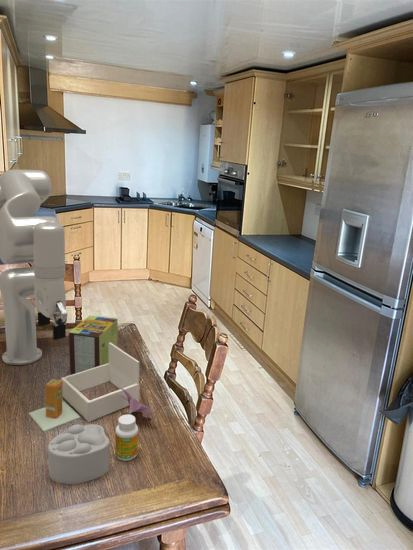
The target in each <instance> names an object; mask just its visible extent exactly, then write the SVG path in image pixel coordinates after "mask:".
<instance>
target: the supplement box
mask: <svg viewBox="0 0 413 550" xmlns="http://www.w3.org/2000/svg"><path fill="white" fill-rule="evenodd" d="M62 385H63V382H62V381H61V379H57V378H52V379H51V380H49V381H48V382H47V383H45V407H46V417H50V418H54V419H56V418H57V417H58V416H59V415H60V414H61V413H62V401H63V396H62Z"/></svg>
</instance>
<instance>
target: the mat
mask: <svg viewBox="0 0 413 550" xmlns="http://www.w3.org/2000/svg"><path fill="white" fill-rule="evenodd" d="M28 415H29V416H30V418H32V420H33V421H34V423H36V424H37V426H38V427H39V428H40V429H41V431H42V432H43V433H46V432H48V431H51V430H53V429H56V428H59V427H60V426H64V425H66V424H68V423H72V422H74V421H76V420H79V419H81V416H80V415H79V414H78V413H77V412H76V411H75V410H74V408H72V406H71V405H70V404H68V403H67V401H65V400H62V413H61V414H60V415H59V416H58V417H57V418H56V419H54V418H50V417H46V406H44V407H42V408H39V409H36V410H34V411H30V412H28Z"/></svg>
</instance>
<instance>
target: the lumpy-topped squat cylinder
mask: <svg viewBox="0 0 413 550" xmlns="http://www.w3.org/2000/svg"><path fill="white" fill-rule="evenodd" d="M110 446H111V445H110V439H109V437H108V436H107V435H106V433H105V428H104V427H103V426H102V425H100V424H96V423H95V424H92V423H91V424H86V425H82V424H79V423H78V424H73V425H71V426H70V427H68V429H66V430H64V431H62V432H61V433H59V434H57V435H56V436H55V437H54V438H52V439H51V440H50V442H49V443H48V446H47V456H48V457H47V459H48V460H47V461H48V476H49V477H50V479H51V480H52V481H54V482H56V483H59V484H63V485H65V484H67V485H77V484H83V483H85V482H89V481H92V480H95V479H98V478H101V477H103V476H104V475H106V474H107V473H108V472H109V470H110V467H111V464H110V462H111V460H110V459H111V457H110V456H111V455H110V453H111V447H110Z"/></svg>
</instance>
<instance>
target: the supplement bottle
mask: <svg viewBox="0 0 413 550" xmlns="http://www.w3.org/2000/svg"><path fill="white" fill-rule="evenodd" d="M136 422H137V421H136V417H135V416H134V415H133V414H130V415H129V413H128V414H122V415H121V416H119V418H118V422H117V423H118V424H117V425H116V427H115V437H114V438H115V446H114V448H115V456H116V458H117V459H118V460H121V461H124V462H127V461H131V460H134V459H135V458H136V457H137V456H138V452H139V426H138V425H137V424H136Z"/></svg>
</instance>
